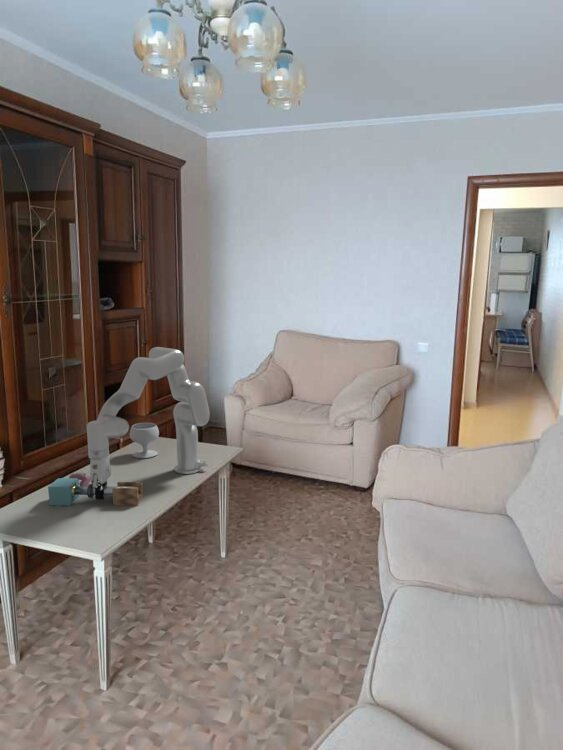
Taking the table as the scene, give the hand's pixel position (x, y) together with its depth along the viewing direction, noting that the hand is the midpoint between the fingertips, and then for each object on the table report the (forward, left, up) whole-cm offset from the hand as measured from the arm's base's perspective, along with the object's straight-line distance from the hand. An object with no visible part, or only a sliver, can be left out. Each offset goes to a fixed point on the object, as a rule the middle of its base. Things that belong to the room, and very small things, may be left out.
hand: (101, 496), depth 213 cm
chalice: (-2, -56, -2) cm, 56 cm away
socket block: (+15, 0, -2) cm, 15 cm away
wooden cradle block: (-10, 0, -2) cm, 11 cm away
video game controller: (+15, -15, -2) cm, 21 cm away
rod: (0, 0, 0) cm, 0 cm away
